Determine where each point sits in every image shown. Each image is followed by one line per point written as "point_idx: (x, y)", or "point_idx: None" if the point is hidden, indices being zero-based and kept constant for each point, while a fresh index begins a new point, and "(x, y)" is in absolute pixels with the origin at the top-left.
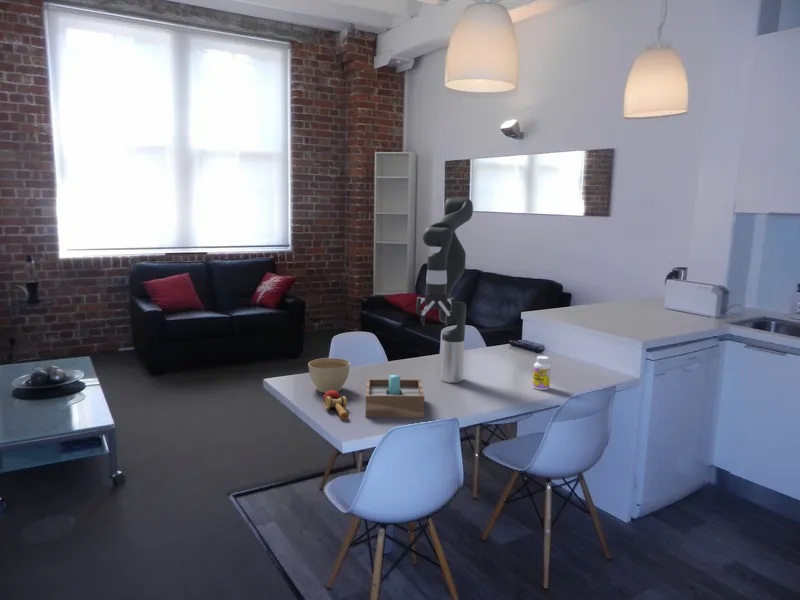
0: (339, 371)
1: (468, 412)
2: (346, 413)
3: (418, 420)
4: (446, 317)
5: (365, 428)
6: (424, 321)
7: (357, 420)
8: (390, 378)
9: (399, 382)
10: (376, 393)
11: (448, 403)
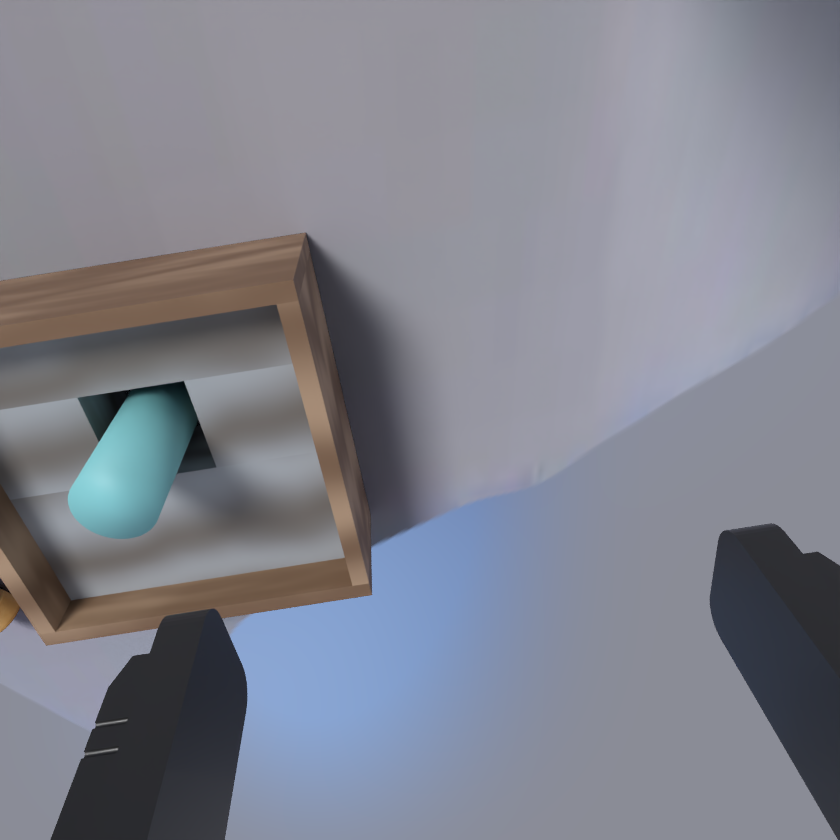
0: None
1: (599, 413)
2: (5, 624)
3: None
4: (825, 811)
5: None
6: (220, 779)
7: None
8: (97, 527)
9: (169, 487)
10: (45, 475)
11: (499, 290)
